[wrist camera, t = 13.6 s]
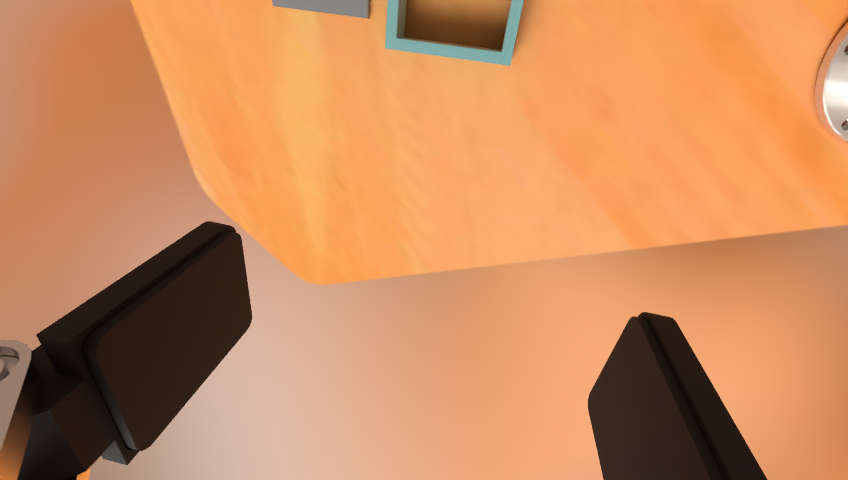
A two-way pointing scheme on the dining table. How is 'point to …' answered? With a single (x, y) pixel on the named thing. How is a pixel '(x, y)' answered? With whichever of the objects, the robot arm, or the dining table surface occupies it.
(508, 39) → the dish
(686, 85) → the dining table surface
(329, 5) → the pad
